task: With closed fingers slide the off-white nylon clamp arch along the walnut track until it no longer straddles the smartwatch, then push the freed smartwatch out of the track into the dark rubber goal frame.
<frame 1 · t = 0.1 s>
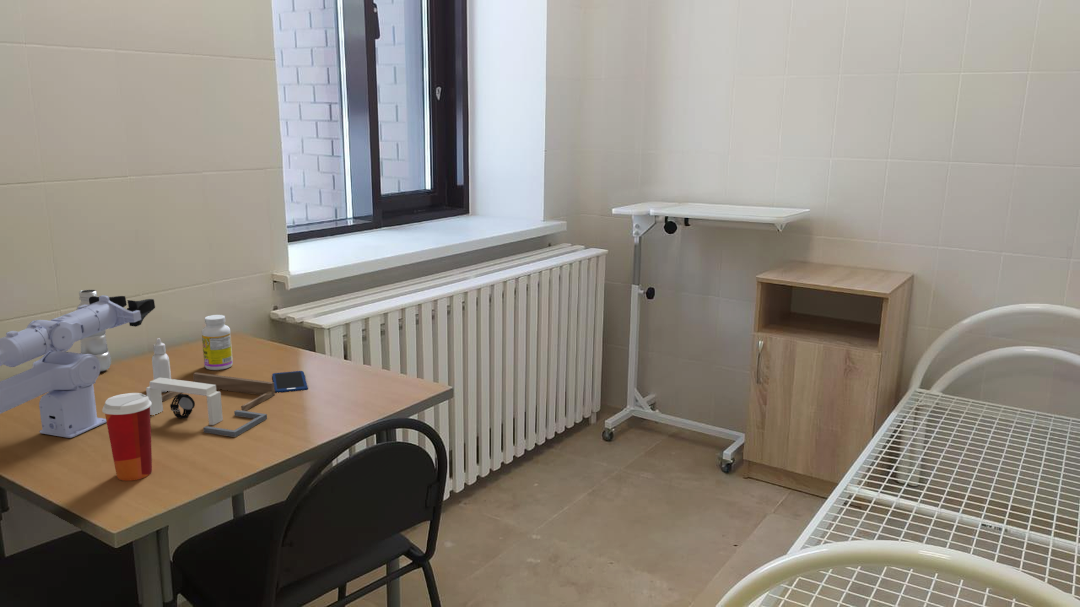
hand: (138, 301, 178), 22 cm above the table, tool horizontal, fingers open, 7 cm apart
clamp arch: (184, 400, 170), point 4 cm above the table, slide at 0.0 cm
plastic bottle: (96, 372, 199), on the table
cell phone: (289, 384, 194), on the table
smartwatch: (181, 418, 171), on the table
supplement bottle: (218, 367, 204), on the table
track: (208, 406, 177), on the table
paper cup: (134, 475, 145), on the table
goal frame: (234, 425, 167), on the table
eye dropper bottle: (163, 389, 188), on the table
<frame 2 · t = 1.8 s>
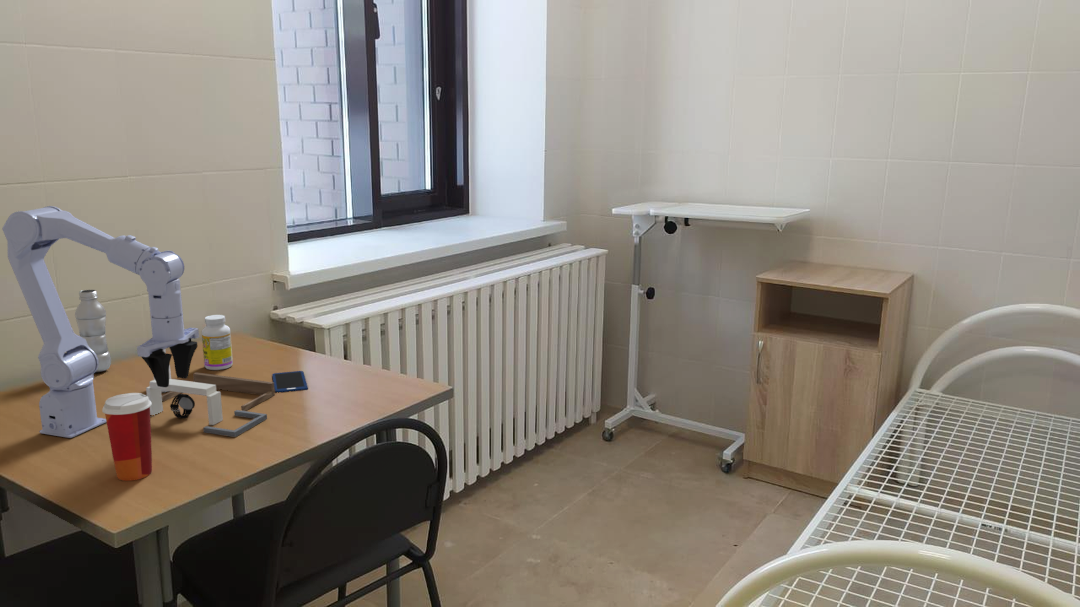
hand: (172, 382, 161), 10 cm above the table, tool pointing down, fingers open, 5 cm apart
nothing on the table moved.
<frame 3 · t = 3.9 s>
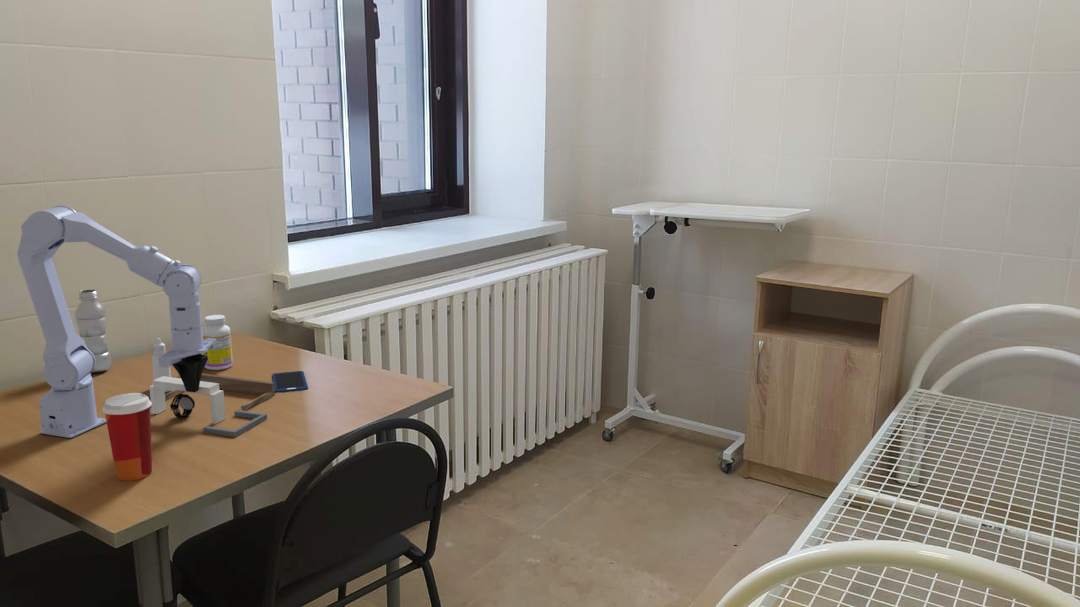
hand: (192, 391, 167), 7 cm above the table, tool pointing down, fingers closed
clamp arch: (187, 399, 171), point 4 cm above the table, slide at 0.9 cm, touching gripper
everything else where it was.
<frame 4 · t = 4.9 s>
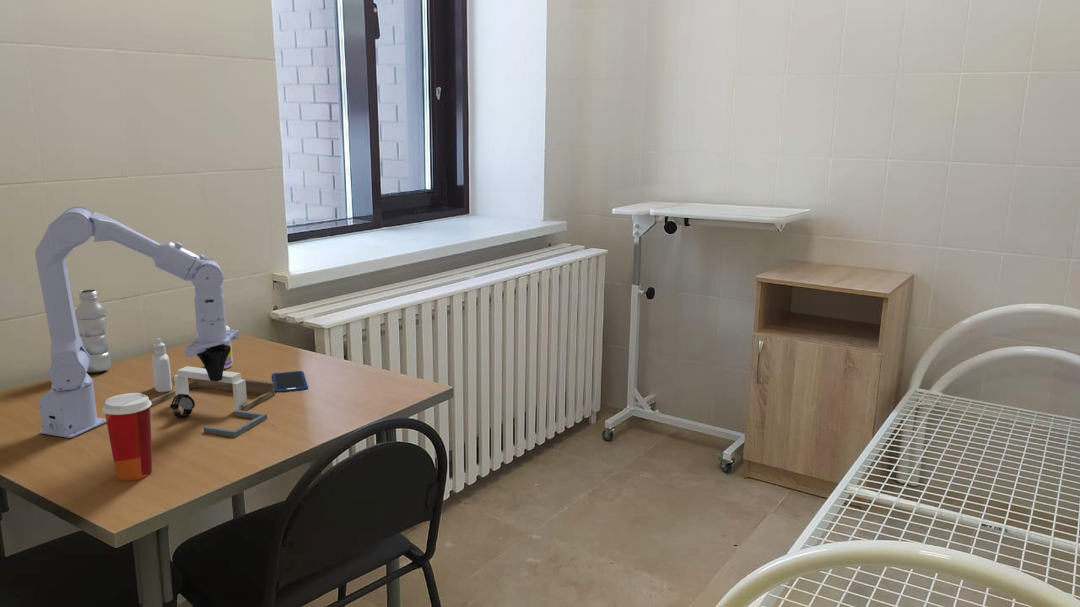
hand: (215, 380, 174), 7 cm above the table, tool pointing down, fingers closed
clamp arch: (210, 388, 177), point 4 cm above the table, slide at 8.2 cm, touching gripper
everything else where it was.
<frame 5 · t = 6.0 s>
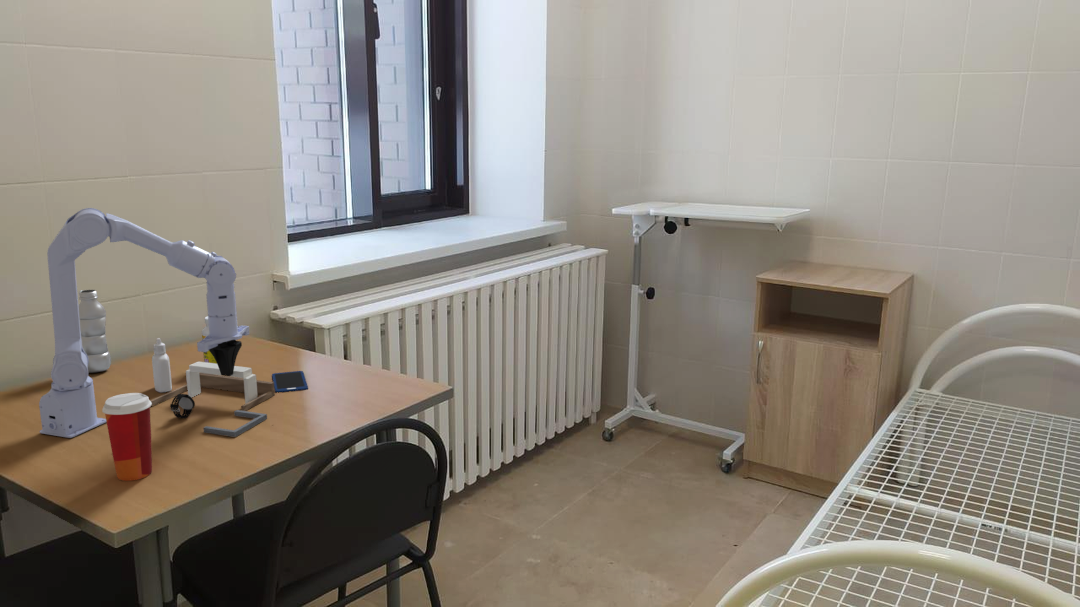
hand: (227, 375, 177), 7 cm above the table, tool pointing down, fingers closed
clamp arch: (221, 383, 181), point 4 cm above the table, slide at 11.9 cm, touching gripper
everything else where it was.
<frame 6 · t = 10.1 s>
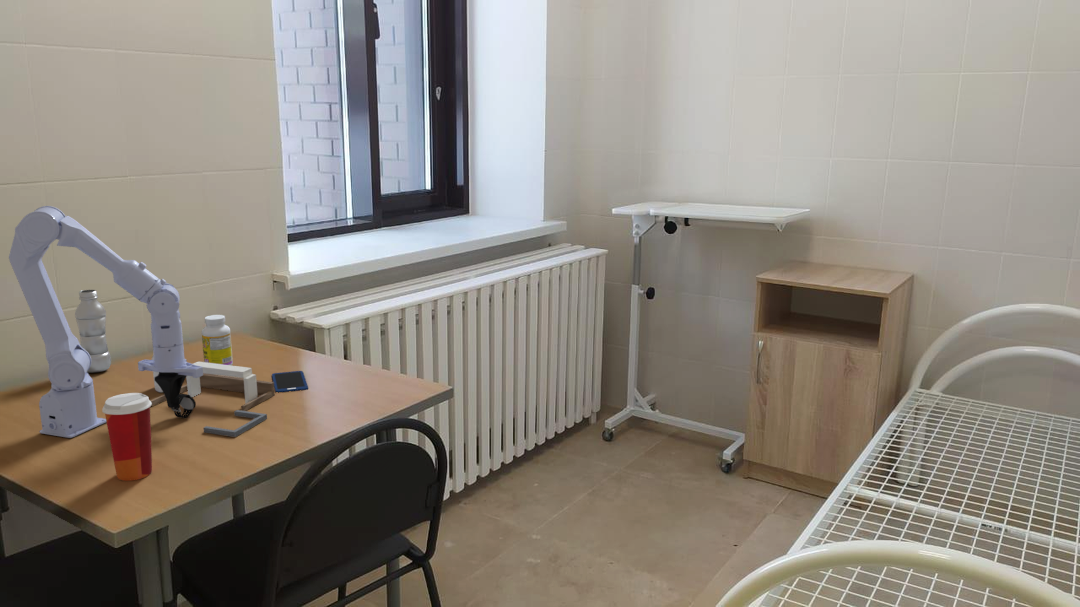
hand: (173, 406, 171), 2 cm above the table, tool pointing down, fingers closed, pressing on smartwatch
clamp arch: (221, 383, 181), point 4 cm above the table, slide at 11.9 cm
smartwatch: (181, 418, 171), on the table, touching gripper
everything else where it was.
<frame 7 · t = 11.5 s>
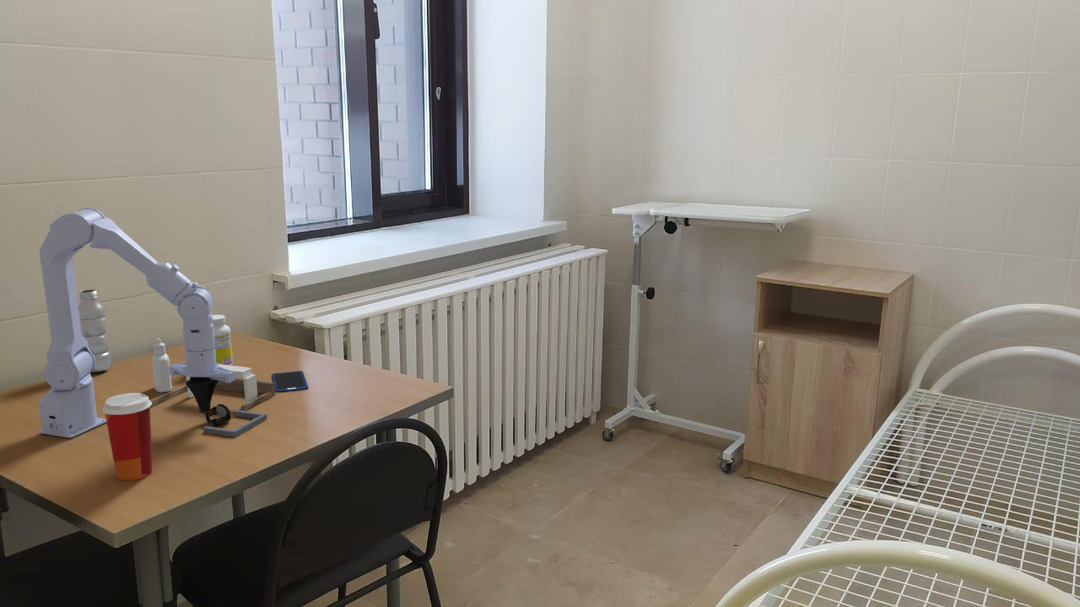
hand: (205, 411, 169), 2 cm above the table, tool pointing down, fingers closed, pressing on smartwatch
smartwatch: (205, 413, 169), point 2 cm above the table, touching gripper
everything else where it was.
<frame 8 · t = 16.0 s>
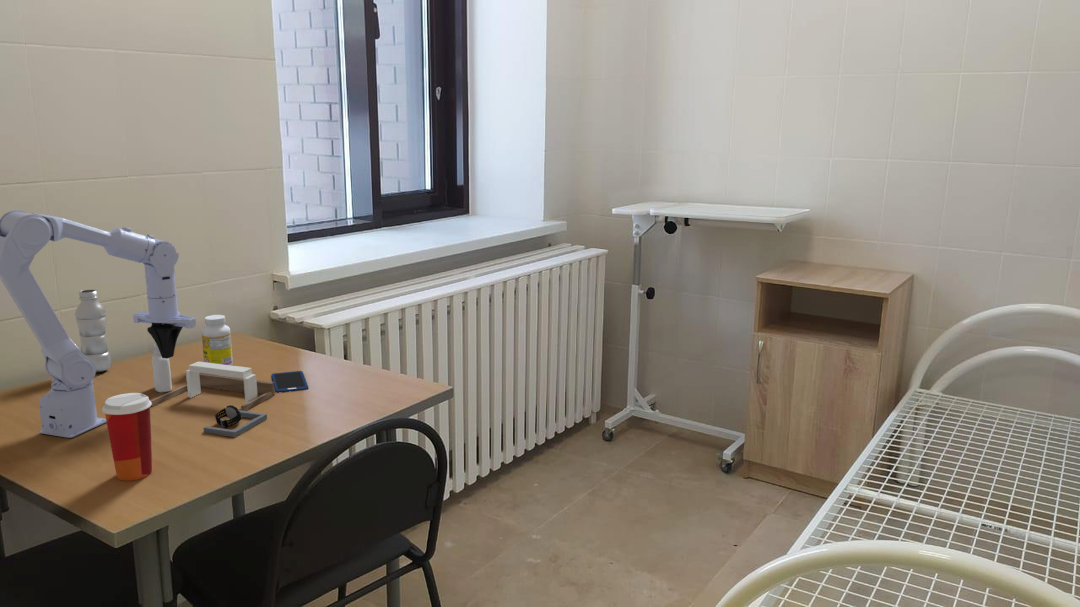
hand: (167, 357, 177), 10 cm above the table, tool pointing down, fingers closed
smartwatch: (215, 415, 168), point 2 cm above the table
everything else where it was.
at the end: clamp arch slide at 11.9 cm; smartwatch inside the target area (4.3 cm from its centre), point 1.5 cm above the table; the gripper is holding nothing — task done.
